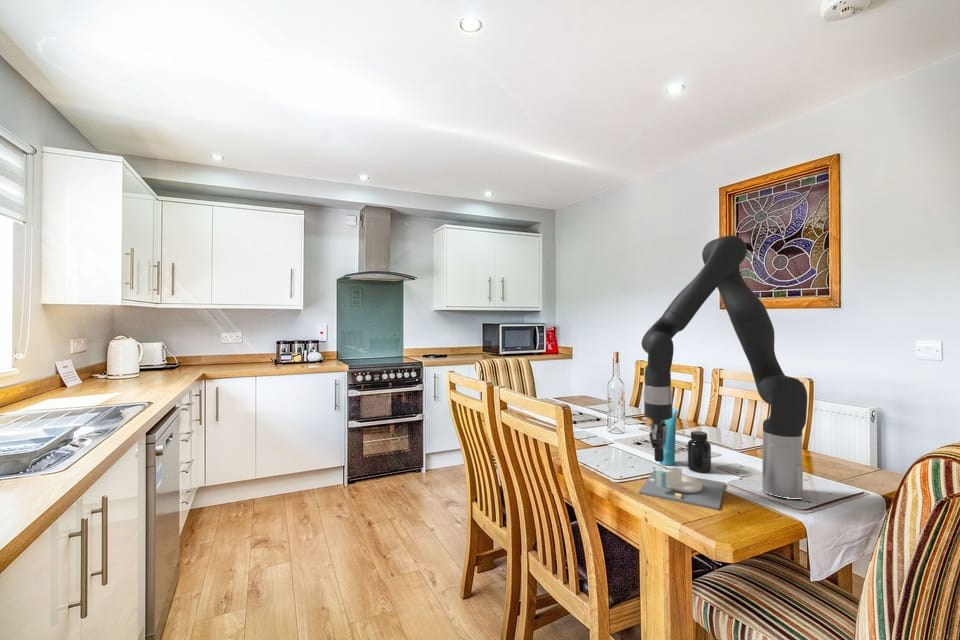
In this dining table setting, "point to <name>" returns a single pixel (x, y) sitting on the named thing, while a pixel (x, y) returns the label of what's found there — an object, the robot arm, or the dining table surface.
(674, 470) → the dial
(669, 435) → the tube
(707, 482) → the dial board
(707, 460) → the supplement bottle
